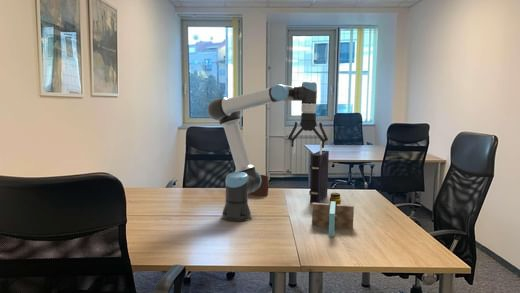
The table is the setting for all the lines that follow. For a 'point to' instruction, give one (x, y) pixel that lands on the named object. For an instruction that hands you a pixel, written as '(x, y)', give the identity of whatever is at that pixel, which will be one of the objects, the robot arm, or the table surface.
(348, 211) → the walnut plate
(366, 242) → the table surface
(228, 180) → the robot arm
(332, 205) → the teal plate
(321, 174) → the book
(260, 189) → the letter holder
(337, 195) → the condiment
